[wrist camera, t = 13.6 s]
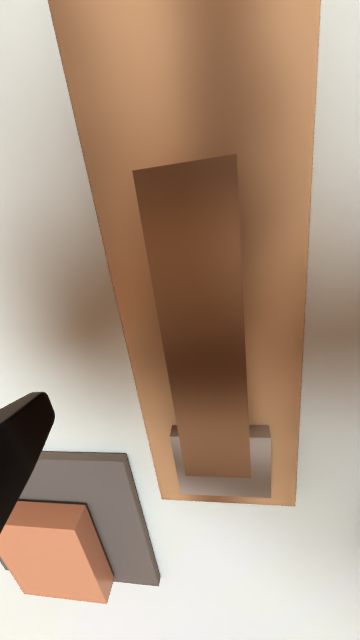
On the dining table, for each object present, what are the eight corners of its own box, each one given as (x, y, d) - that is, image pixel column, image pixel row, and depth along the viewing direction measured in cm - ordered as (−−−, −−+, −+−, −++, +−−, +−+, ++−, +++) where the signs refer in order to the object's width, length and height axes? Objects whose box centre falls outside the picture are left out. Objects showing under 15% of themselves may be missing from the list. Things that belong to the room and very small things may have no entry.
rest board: (317, -89, 8) (326, -115, 7) (292, 493, 18) (295, 506, 17) (55, -13, 9) (41, -29, 9) (164, 487, 19) (161, 499, 18)
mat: (126, 453, 18) (122, 461, 18) (160, 577, 24) (158, 586, 23) (-61, 449, 21) (-69, 456, 20) (10, 561, 26) (5, 569, 26)
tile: (74, 530, 18) (106, 604, 22) (86, 502, 20) (114, 575, 23) (-22, 522, 19) (24, 594, 23) (-3, 497, 21) (37, 567, 25)
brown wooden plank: (126, 179, 11) (94, 176, 8) (265, 157, 10) (281, 146, 7) (182, 481, 17) (174, 535, 15) (269, 484, 16) (278, 543, 14)
